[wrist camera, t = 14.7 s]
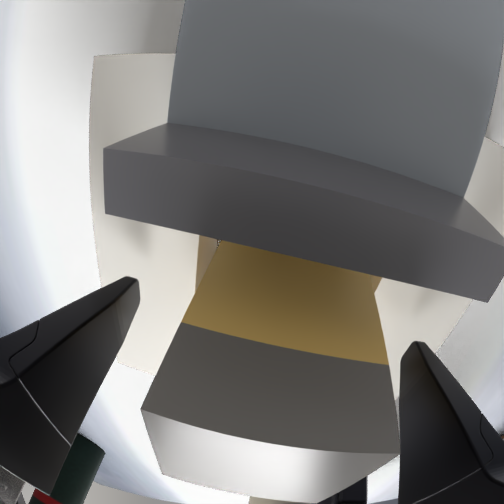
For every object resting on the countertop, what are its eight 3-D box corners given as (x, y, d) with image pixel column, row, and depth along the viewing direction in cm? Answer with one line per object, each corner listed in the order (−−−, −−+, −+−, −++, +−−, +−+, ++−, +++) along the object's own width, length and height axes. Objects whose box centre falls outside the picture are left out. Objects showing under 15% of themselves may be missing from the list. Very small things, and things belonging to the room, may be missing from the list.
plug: (322, 300, 14) (316, 503, 6) (231, 279, 14) (162, 474, 6) (353, 217, 11) (400, 453, 4) (246, 192, 12) (140, 409, 4)
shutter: (436, 225, 7) (487, 302, 5) (175, 161, 8) (105, 213, 5) (492, -7, 4) (566, -26, 1) (219, -83, 4) (171, -146, 1)
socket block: (372, 376, 16) (376, 419, 13) (140, 324, 17) (118, 362, 14) (491, 144, 9) (535, 167, 6) (141, 57, 9) (94, 55, 7)
